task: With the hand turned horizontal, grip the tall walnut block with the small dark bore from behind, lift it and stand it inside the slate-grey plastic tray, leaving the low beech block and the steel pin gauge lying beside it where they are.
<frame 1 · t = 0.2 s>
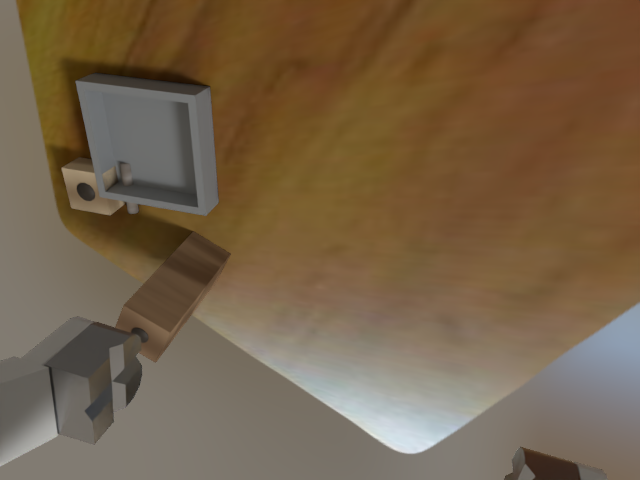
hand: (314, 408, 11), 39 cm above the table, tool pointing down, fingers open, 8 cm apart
tray: (159, 140, 55), on the table
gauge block: (102, 180, 60), on the table
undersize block: (205, 257, 62), on the table
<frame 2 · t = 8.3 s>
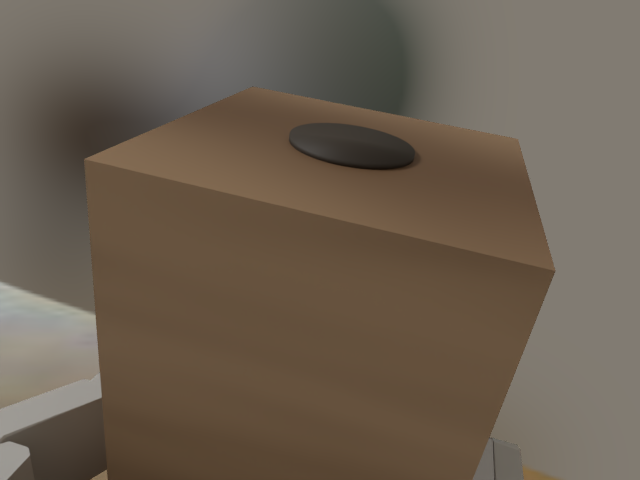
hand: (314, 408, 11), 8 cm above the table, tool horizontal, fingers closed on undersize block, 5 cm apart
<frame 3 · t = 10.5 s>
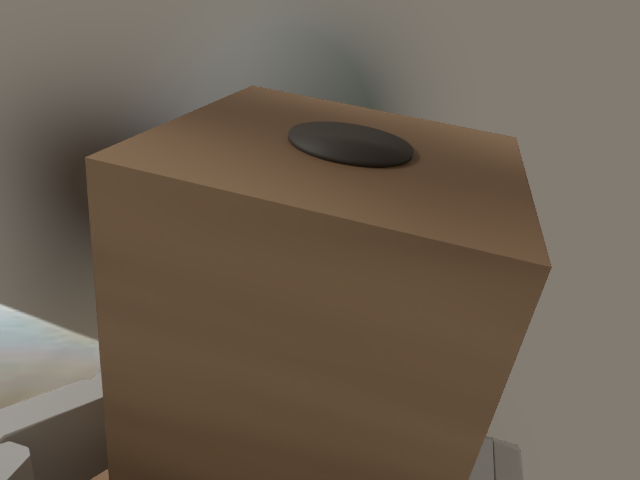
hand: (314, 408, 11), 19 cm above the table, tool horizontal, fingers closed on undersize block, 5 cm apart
when the fingers open (10 cm above the table, at t = 12.9 s): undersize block drops 1 cm, resting on tray.
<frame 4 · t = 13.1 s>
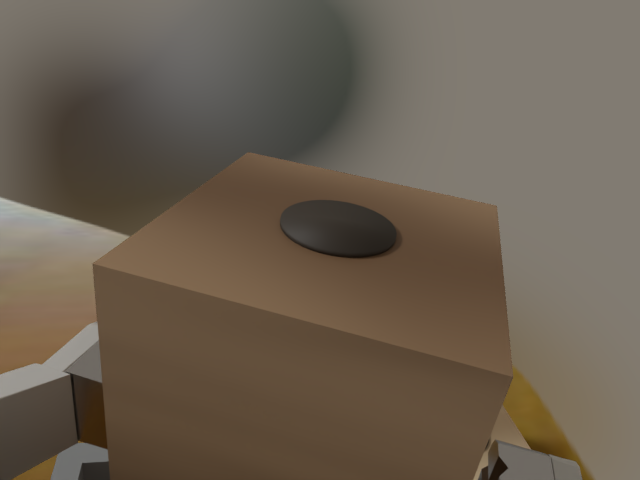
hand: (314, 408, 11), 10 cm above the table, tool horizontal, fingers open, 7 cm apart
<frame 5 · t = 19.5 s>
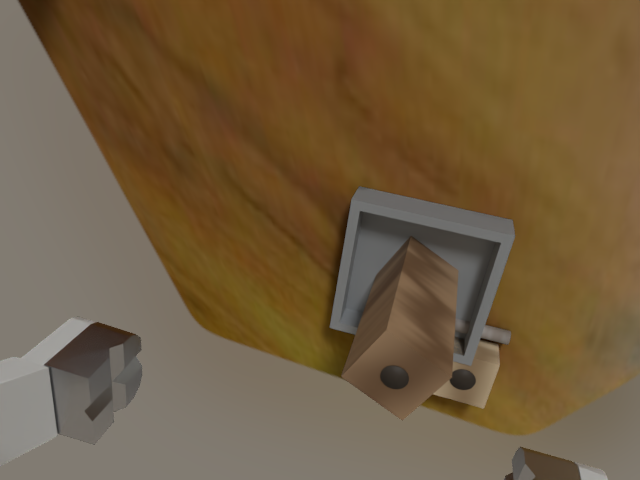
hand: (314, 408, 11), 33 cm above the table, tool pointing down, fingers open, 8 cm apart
tray: (417, 268, 46), on the table
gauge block: (463, 358, 49), on the table
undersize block: (416, 272, 45), point 1 cm above the table, touching tray
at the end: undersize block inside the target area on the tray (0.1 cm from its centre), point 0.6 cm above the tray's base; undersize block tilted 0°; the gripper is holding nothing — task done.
